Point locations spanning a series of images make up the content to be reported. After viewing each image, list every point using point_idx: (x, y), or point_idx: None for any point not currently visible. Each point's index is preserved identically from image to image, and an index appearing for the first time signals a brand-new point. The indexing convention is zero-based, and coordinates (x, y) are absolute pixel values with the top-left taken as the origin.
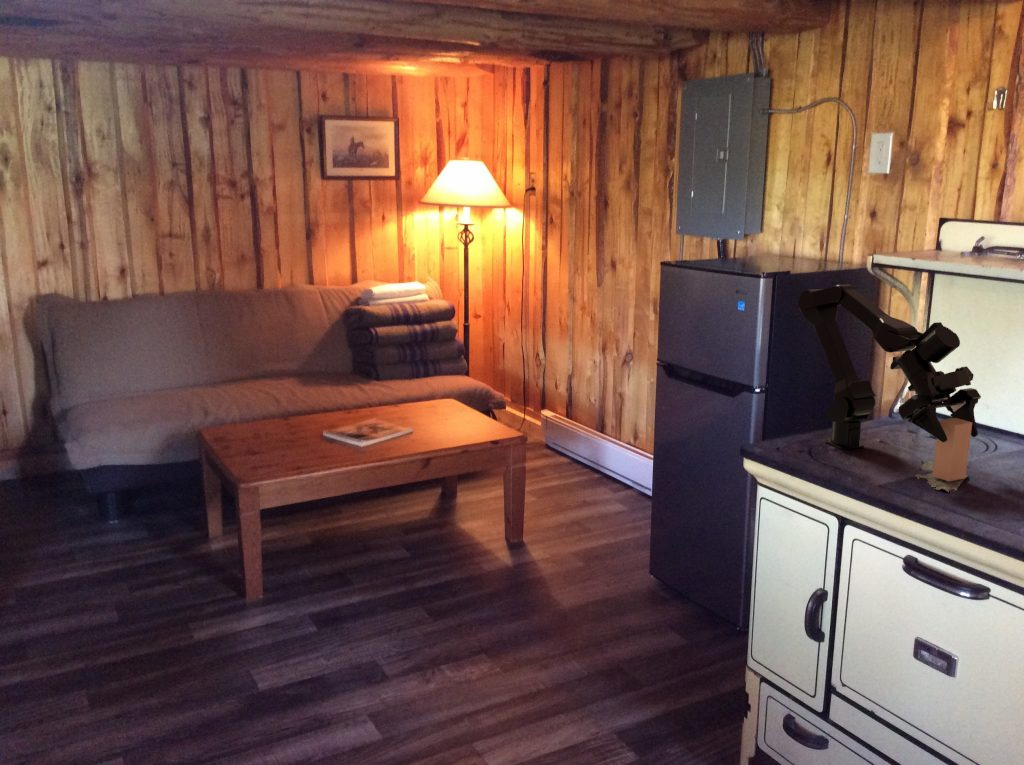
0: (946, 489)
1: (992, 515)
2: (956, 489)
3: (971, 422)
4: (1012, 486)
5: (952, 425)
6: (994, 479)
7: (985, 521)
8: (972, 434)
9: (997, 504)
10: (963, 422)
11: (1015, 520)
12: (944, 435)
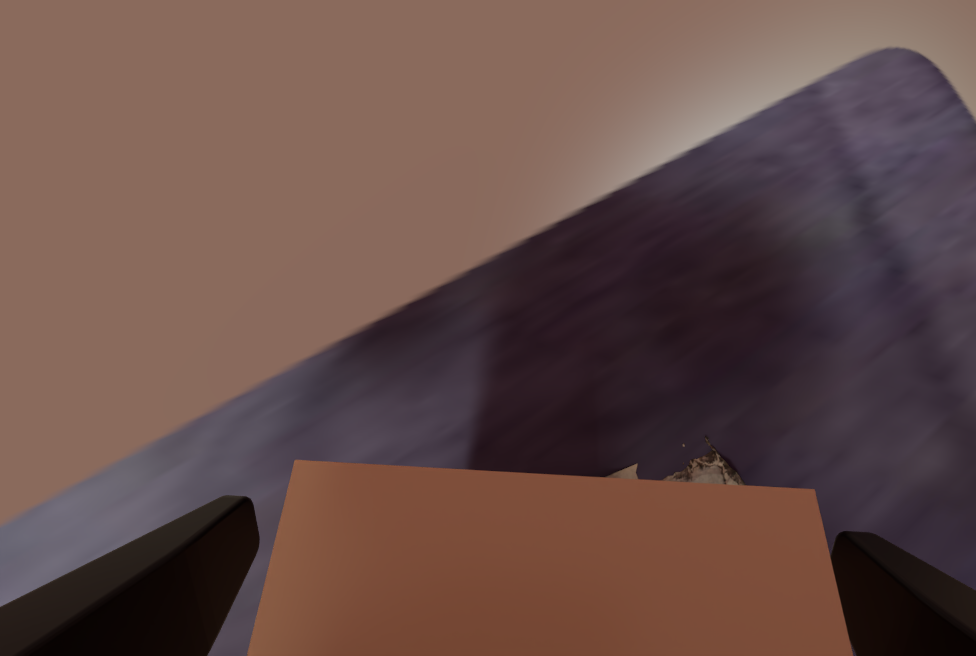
0: (705, 482)
1: (749, 195)
2: (623, 471)
3: (314, 463)
4: (305, 371)
5: (813, 577)
6: (258, 485)
7: (833, 170)
8: (235, 566)
9: (613, 258)
10: (460, 546)
11: (702, 142)
12: (932, 570)
